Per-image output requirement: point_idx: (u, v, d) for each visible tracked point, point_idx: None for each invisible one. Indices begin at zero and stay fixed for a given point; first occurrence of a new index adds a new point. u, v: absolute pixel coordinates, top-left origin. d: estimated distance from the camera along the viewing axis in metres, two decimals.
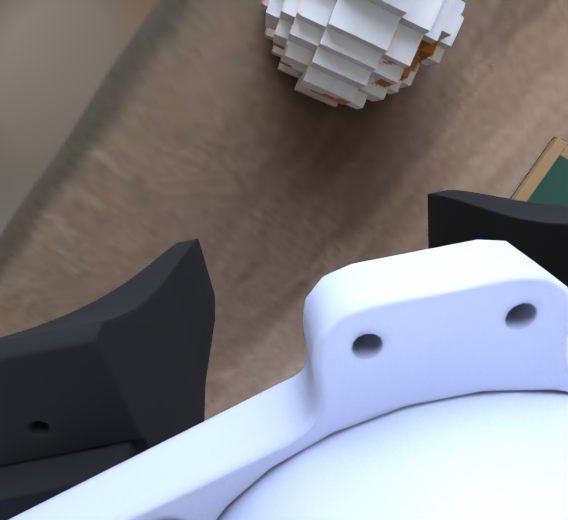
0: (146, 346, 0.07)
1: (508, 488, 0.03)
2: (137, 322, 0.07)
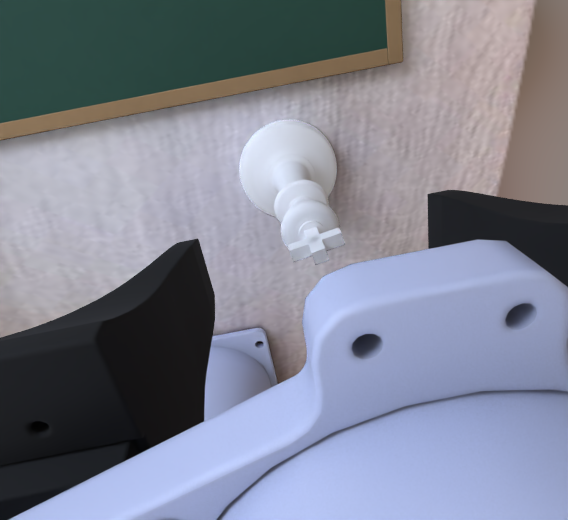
0: (146, 345, 0.07)
1: (508, 488, 0.03)
2: (137, 322, 0.07)
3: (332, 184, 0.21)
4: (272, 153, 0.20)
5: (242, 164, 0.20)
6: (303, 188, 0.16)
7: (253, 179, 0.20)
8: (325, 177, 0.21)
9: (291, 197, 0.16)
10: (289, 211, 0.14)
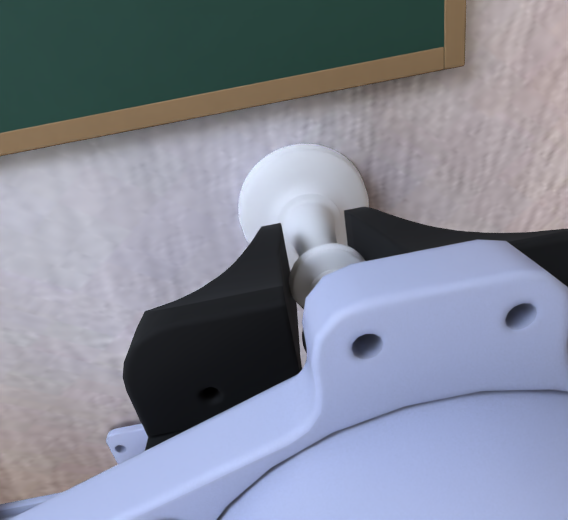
0: (290, 317, 0.07)
1: (508, 488, 0.03)
2: (285, 293, 0.07)
3: None
4: (284, 190, 0.14)
5: (242, 203, 0.15)
6: (333, 257, 0.10)
7: (256, 224, 0.15)
8: None
9: (315, 270, 0.11)
10: None
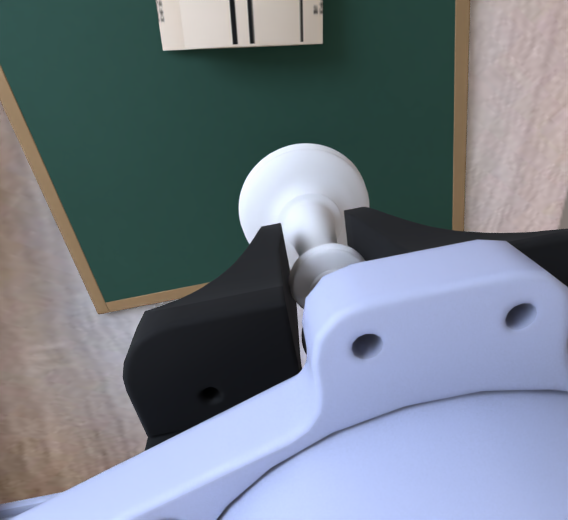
0: (289, 318, 0.07)
1: (508, 488, 0.03)
2: (285, 293, 0.07)
3: None
4: (284, 189, 0.14)
5: (242, 203, 0.15)
6: (333, 257, 0.10)
7: (257, 224, 0.15)
8: None
9: (315, 270, 0.11)
10: None
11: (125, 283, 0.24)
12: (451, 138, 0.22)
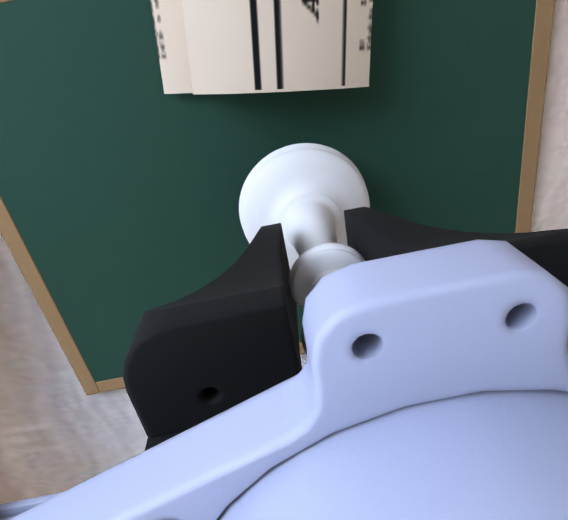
0: None
1: (508, 488, 0.03)
2: (285, 293, 0.07)
3: None
4: (284, 189, 0.14)
5: (243, 203, 0.15)
6: (333, 257, 0.10)
7: (257, 224, 0.15)
8: None
9: (314, 270, 0.11)
10: None
11: (119, 360, 0.20)
12: (516, 193, 0.18)
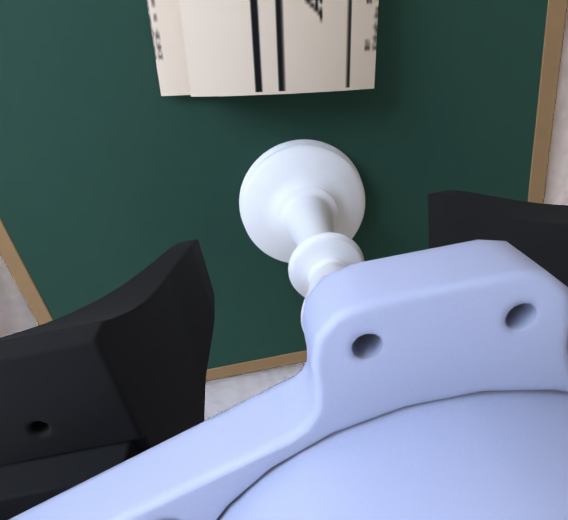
0: (146, 346, 0.07)
1: (508, 488, 0.03)
2: (137, 322, 0.07)
3: (359, 221, 0.16)
4: (283, 184, 0.15)
5: (243, 197, 0.16)
6: (330, 245, 0.11)
7: (256, 217, 0.16)
8: (350, 213, 0.16)
9: (313, 258, 0.11)
10: None
11: None
12: (525, 198, 0.17)
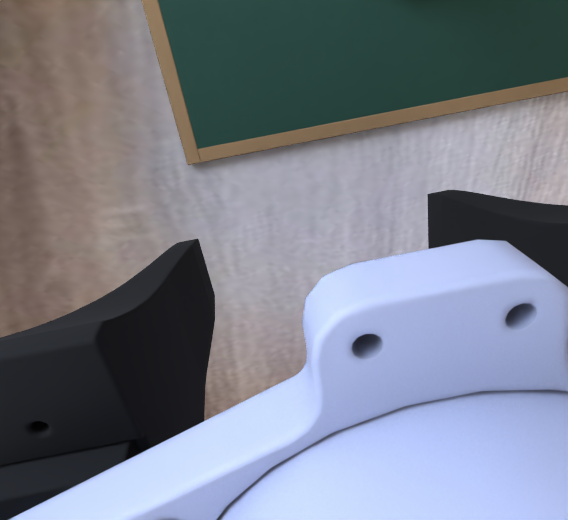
0: (146, 345, 0.07)
1: (508, 488, 0.03)
2: (137, 322, 0.07)
3: None
4: None
5: None
6: None
7: None
8: None
9: None
10: None
11: (222, 123, 0.21)
12: None
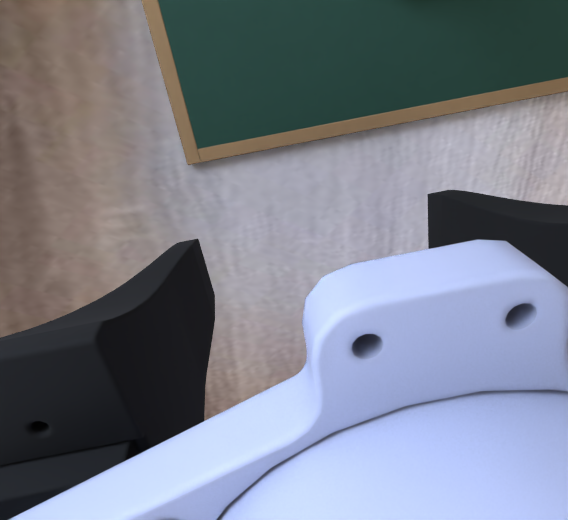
0: (146, 345, 0.07)
1: (508, 488, 0.03)
2: (137, 322, 0.07)
3: None
4: None
5: None
6: None
7: None
8: None
9: None
10: None
11: (222, 123, 0.21)
12: None
